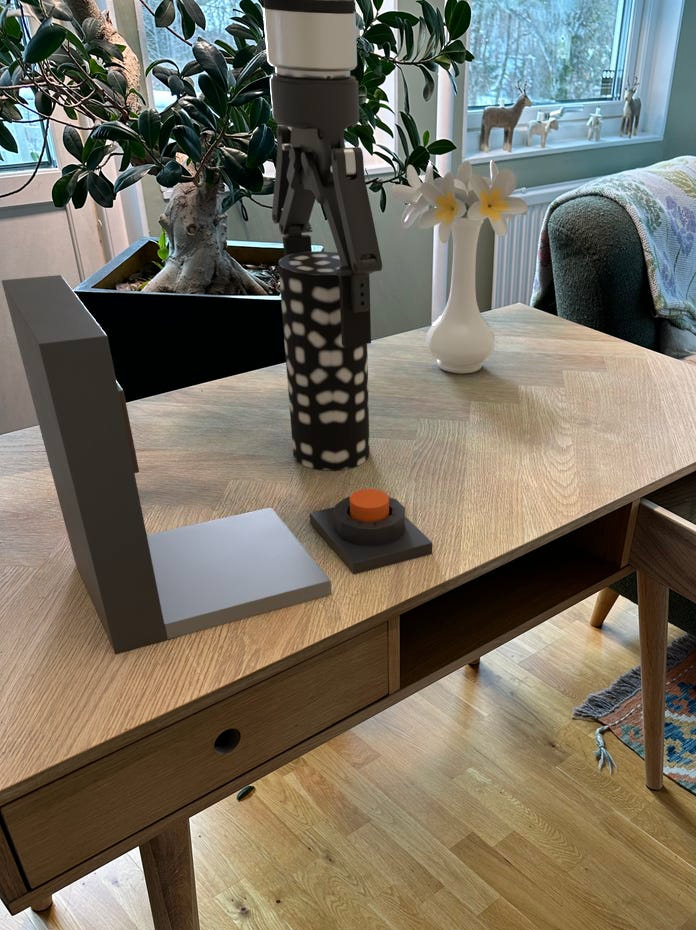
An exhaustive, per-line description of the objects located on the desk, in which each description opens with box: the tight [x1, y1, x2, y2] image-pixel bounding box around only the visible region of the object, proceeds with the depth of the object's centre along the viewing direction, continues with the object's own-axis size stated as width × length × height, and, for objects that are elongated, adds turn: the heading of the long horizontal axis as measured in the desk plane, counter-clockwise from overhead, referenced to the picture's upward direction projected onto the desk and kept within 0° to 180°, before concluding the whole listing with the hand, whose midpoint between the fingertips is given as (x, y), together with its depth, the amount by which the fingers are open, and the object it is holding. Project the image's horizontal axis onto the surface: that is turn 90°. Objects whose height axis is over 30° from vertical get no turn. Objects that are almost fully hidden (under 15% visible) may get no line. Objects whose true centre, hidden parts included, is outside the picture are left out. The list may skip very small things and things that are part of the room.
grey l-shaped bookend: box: [1, 274, 333, 654], centre depth 69 cm, size 14×18×24 cm
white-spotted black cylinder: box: [277, 250, 371, 471], centre depth 91 cm, size 8×8×20 cm
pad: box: [309, 496, 434, 575], centre depth 82 cm, size 10×8×3 cm
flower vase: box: [390, 160, 528, 374], centre depth 113 cm, size 13×18×25 cm
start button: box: [349, 488, 390, 522], centre depth 81 cm, size 4×4×2 cm
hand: (327, 322), depth 88 cm, fingers open, 13 cm apart
